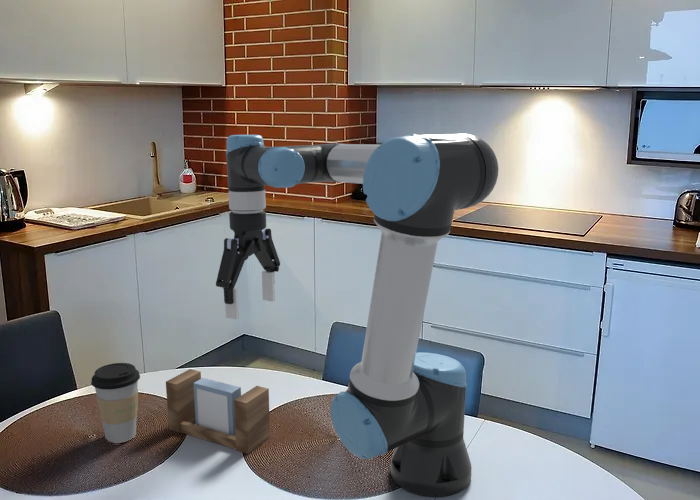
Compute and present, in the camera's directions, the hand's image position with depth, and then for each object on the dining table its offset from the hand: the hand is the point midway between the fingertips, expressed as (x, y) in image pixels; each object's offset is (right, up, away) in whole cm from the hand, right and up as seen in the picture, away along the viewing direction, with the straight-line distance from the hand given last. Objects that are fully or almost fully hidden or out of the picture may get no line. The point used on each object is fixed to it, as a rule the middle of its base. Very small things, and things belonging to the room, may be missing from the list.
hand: (251, 309), depth 138 cm
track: (-7, -26, -1) cm, 27 cm away
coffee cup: (-27, -27, -3) cm, 38 cm away
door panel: (-7, -26, -1) cm, 27 cm away
